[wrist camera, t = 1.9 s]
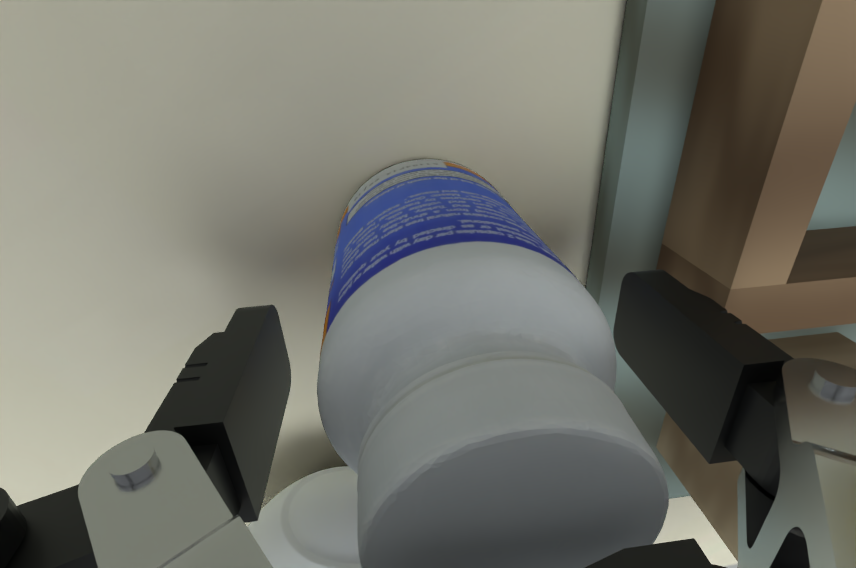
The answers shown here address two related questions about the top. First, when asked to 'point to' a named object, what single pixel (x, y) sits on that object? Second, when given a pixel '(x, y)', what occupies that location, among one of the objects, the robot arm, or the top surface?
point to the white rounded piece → (312, 522)
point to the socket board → (732, 190)
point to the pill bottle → (475, 386)
